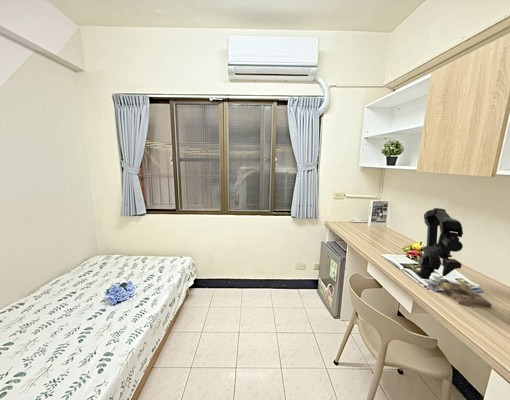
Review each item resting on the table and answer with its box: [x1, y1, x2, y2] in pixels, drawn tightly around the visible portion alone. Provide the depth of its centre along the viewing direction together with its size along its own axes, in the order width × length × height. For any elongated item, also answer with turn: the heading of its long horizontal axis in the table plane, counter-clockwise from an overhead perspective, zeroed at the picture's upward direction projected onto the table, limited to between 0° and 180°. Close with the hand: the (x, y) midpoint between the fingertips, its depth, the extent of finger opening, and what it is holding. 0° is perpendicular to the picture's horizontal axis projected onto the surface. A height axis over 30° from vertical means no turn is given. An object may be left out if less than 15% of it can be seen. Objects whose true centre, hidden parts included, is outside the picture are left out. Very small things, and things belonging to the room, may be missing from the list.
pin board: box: [439, 281, 493, 309], centre depth 113 cm, size 16×14×2 cm
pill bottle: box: [426, 272, 442, 292], centre depth 117 cm, size 5×5×8 cm
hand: (437, 271), depth 115 cm, fingers open, 9 cm apart
